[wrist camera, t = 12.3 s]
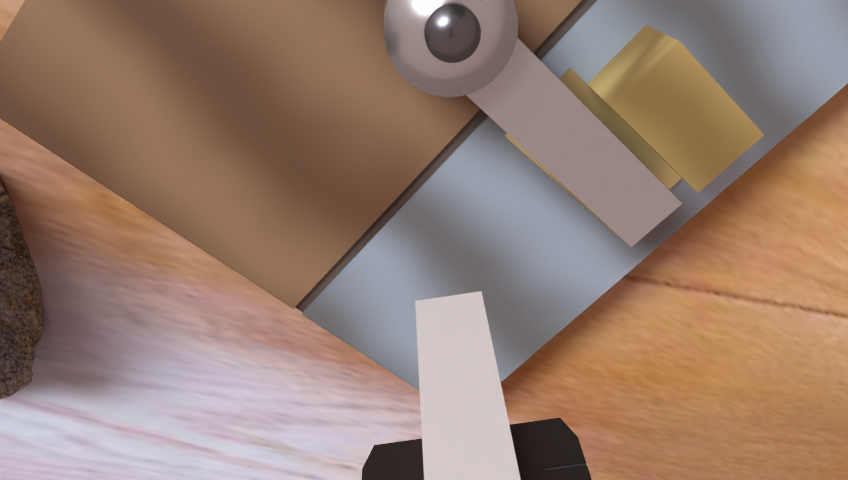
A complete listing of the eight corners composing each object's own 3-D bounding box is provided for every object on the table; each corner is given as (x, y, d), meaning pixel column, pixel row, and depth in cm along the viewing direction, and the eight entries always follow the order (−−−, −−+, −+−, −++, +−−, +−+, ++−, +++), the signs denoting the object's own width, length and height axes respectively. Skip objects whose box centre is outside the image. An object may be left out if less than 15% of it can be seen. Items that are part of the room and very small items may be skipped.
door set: (470, -689, 18) (507, -929, 13) (916, -30, 27) (1045, -11, 22) (5, 78, 27) (-87, 124, 22) (455, 381, 36) (467, 465, 31)
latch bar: (359, 20, 24) (355, 39, 21) (441, -79, 22) (451, -74, 19) (599, 238, 29) (625, 279, 26) (680, 168, 27) (716, 203, 24)
